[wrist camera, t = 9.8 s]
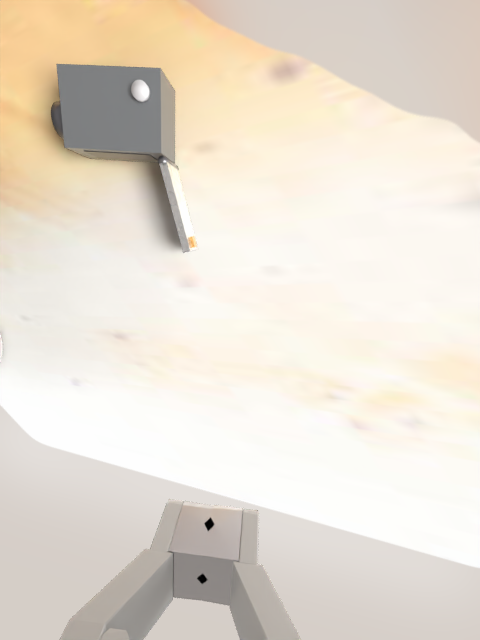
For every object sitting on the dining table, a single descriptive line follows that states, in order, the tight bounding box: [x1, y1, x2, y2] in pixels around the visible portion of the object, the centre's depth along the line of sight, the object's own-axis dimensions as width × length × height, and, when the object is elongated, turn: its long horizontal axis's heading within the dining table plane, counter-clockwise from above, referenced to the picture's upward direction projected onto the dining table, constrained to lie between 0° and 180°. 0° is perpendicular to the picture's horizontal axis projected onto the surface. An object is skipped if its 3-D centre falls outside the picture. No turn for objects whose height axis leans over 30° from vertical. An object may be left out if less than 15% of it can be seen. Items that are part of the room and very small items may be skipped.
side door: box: [158, 156, 198, 253], centre depth 33 cm, size 10×1×4 cm, turn 12°
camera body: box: [51, 64, 175, 164], centre depth 30 cm, size 12×7×5 cm, turn 86°
